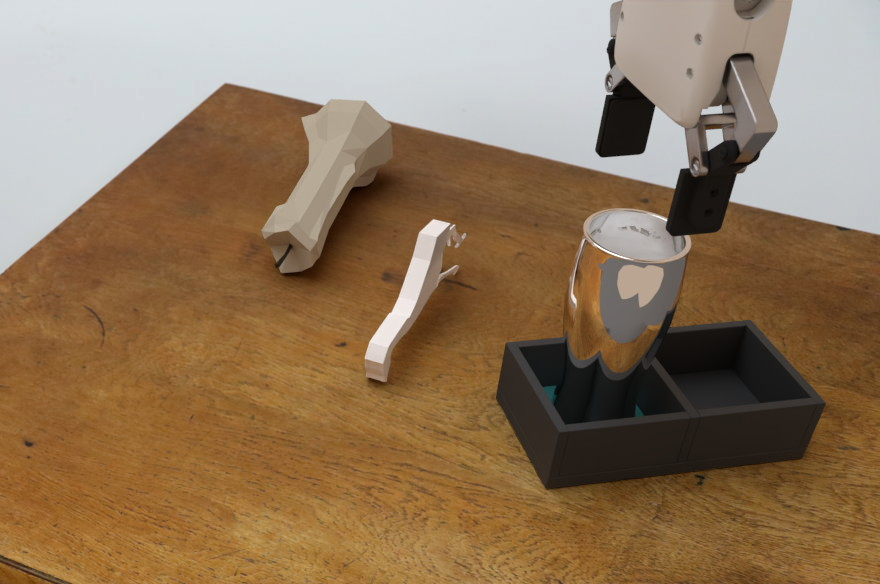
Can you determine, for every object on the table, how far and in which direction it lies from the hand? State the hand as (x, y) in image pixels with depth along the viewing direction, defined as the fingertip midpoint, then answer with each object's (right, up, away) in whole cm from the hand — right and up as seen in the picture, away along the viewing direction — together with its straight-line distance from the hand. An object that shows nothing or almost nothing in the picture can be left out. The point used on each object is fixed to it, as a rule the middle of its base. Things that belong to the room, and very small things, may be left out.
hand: (653, 190), depth 67 cm
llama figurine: (-12, -7, +22) cm, 26 cm away
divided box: (+3, -15, +12) cm, 20 cm away
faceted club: (-20, +3, +34) cm, 40 cm away
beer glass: (-1, -14, +11) cm, 18 cm away
